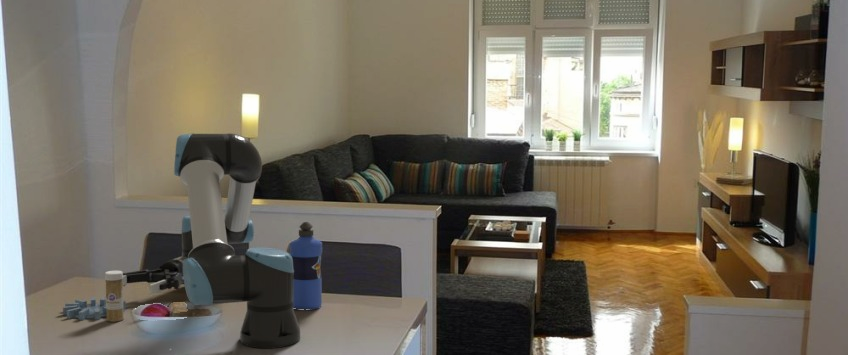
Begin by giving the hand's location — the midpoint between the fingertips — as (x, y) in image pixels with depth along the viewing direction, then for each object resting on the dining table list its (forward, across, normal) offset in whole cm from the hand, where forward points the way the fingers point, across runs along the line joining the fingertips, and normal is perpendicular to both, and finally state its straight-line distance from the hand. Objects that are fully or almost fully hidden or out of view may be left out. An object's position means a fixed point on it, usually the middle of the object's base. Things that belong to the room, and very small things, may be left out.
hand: (130, 287), depth 226 cm
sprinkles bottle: (+7, 0, -8) cm, 10 cm away
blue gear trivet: (+3, +10, -7) cm, 13 cm away
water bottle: (-24, -43, -8) cm, 50 cm away
